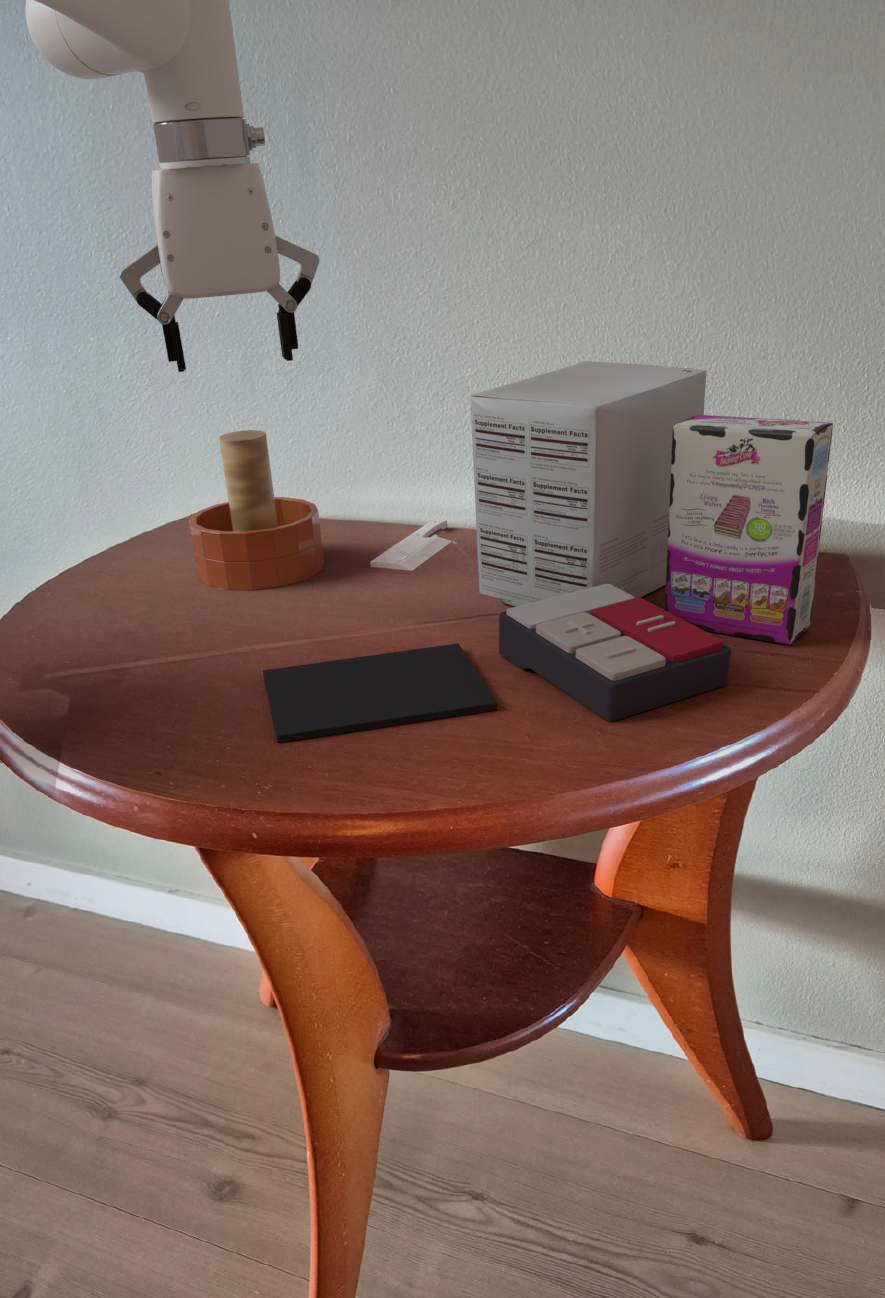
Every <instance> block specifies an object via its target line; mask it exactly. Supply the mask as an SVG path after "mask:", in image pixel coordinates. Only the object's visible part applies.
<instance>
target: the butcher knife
mask: <svg viewBox="0 0 885 1298" xmlns="http://www.w3.org/2000/svg"><path fill="white" fill-rule="evenodd" d="M447 528H448V520H447V519H441V518H440V519H439V518H433V519H432V520H430V521H429V522H427V523H426V524H424V525H423V526H421V527H420V528H418V529H417V530H415V531H414V532H412V533H411V534H409V535H408V536H406V537H405V538H403V539H402V540H400V541H398V542H397V543H395V544H394V545H392V546H391V547H389V548H388V549H386V550H385V551H383V552H382V553H381V554H380V555H378V556H376V557H375V558H373V559H372V560H370V562H369V565H370V567H371V568H380V569H388V570H389V569H390V570H400V571H402V570H403V571H411V572H413V571H414V570H416V568H418V567H419V566H421V565H422V564H423V563H425V562H426V561H428V559H430V558H432V557H433V556H434V555H436V554H437V553H438V552H440V551H441V550H442V549H444V548H445V547H446V546H448V545H449V544H451V543H453V544H454V545H457V544H458V542H457V541H454V540H451V539H447V538H444V537H439V535H438V534H434V533H435V532H437V531H438V530H439V531H440V529H441V530H442V531H444V530H445V529H447ZM432 534H433V535H432ZM431 535H432V536H431Z"/></svg>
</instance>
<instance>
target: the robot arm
mask: <svg viewBox="0 0 885 1298" xmlns="http://www.w3.org/2000/svg"><path fill="white" fill-rule="evenodd" d="M24 9H25V10H24V13H25V22H26V27H27V30H28V33H29V35H30V38H31V41H32V42H33V45H34V46H35V48H36V49H37V50H38V52H39V54H40V55H41V56H42V57H43V59H44V60H46V61H47V62H48V64H50V65H52V67H54V68H55V69H57V70H58V71H60V72H62V73H63V74H66V75H68V76H71V77H73V78H77V79H83V80H98V79H100V80H101V79H105V78H110V77H111V78H112V77H115V76H119V75H124V74H128V73H129V74H130V73H137V72H138V73H141V74H143V75H144V82H145V86H146V92H147V99H148V104H149V110H150V115H151V121H152V124H153V125H152V127H153V132H154V134H153V135H154V139H155V146H156V150H157V157H158V163H159V169H157V170H155V169H154V170H151V195H152V196H151V197H152V199H151V202H152V211H153V220H154V227H155V228H154V229H155V237H156V245H155V246H153V247H152V248H151V249H149V250H148V251H147V252H145V253H143V255H141V256H140V257H138V258H137V259H136V260H134V261H133V262H131V263H130V264H128V265H127V266H126V267H125V268H123V269H122V270H121V271H120V274H119V278H120V280H121V282H122V283H123V285H124V286H125V287H126V290H128V292H129V294H130V295H131V296H132V298H133V299H134V300H135V302H136V303H137V305H138V306H140V308H142V309H143V310H144V311H145V312H146V313H148V314H149V315H151V316H152V317H153V318H154V319H155V320H157V321H158V322H159V324H160V325H161V326H162V332H163V337H164V343H165V348H166V349H165V350H166V355H167V361H168V362H169V363H170V362H176V366H177V371H178V373H183V372H185V371H187V366H186V360H185V355H184V348H183V344H182V337H181V331H180V325H179V321H176V313H177V311H178V310H179V307H180V306H181V304H182V302H183V301H184V299H185V300H187V299H189V300H191V299H201V298H214V297H226V296H235V295H247V294H257V293H263V292H267V293H268V294H269V295H270V296H271V297H272V298H273V299H274V300H275V301H276V302H277V303H278V304H277V307H278V311H277V312H276V320H277V328H278V335H279V336H278V337H279V342H280V343H279V345H280V350H281V351H280V352H281V356H282V358H283V359H284V360H285V361H287V362H292V361H294V357H293V350H298V349H299V340H298V332H297V324H296V316H295V312H296V311H297V310H298V307H299V305H300V304H301V302H302V301H303V300H304V299H305V298H306V296H307V295H308V293H309V292H310V291H311V288H312V284H313V281H314V279H315V275H316V274H317V270H318V267H319V264H320V257H319V255H317V254H316V253H314V252H313V251H309V250H308V249H306V248H304V247H301V246H299V245H297V244H294V243H292V242H290V241H288V240H286V239H284V238H282V237H280V236H277V235H276V233H275V228H274V222H273V217H272V212H271V206H270V203H269V199H268V194H267V190H266V185H265V180H264V178H263V174H262V171H261V167H260V165H259V163H258V162H252V163H251V157H250V156H251V151H253V149H257V147H261V146H263V147H264V146H266V137H265V130H264V127H263V126H261V127H260V126H259V127H255V125H250V123H247V121H246V120H247V119H246V118H245V113H244V106H243V98H242V97H243V96H242V90H241V83H240V76H239V75H240V73H239V66H238V59H237V52H236V44H235V36H234V28H233V20H232V14H231V5H230V0H25V8H24ZM279 255H281V256H283V257H286V258H287V259H290V260H292V261H295V262H297V263H298V264H299V266H300V268H299V272H298V274H297V275H298V276H297V278H296V279H295V281H294V282H293V284H292V285H291V286H290V288H289V289H288V290H286V289H285V287H283V286H282V285H281V284H280V281H281V268H280V267H281V265H280V257H279ZM159 265H160V270H161V276H162V279H163V283H164V286H165V288H166V290H167V293H166V295H165V297H164V299H163V300H162V302H160V301H159V300H157V298H155V297H154V296H153V295H152V294H150V293H149V292H148V291H147V289H146V288H145V286H144V284H142V279H141V278H142V277H143V276H145V275H146V274H147V273H149V272H150V271H151V270H153V269H155V268H156V267H157V266H159Z"/></svg>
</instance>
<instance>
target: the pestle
mask: <svg viewBox="0 0 885 1298" xmlns="http://www.w3.org/2000/svg"><path fill="white" fill-rule="evenodd" d="M267 439H268V438H267V433H266V431H262V430H256V429H249V430H248V429H247V430H237V431H236V430H235V431H231V432H227V433H223V434H222V435H220V436H219V437H218V441H219V447H220V453H221V460H222V468H223V474H224V480H225V487H226V494H227V499H228V500H227V502H229V507H230V514H231V520H232V527H233V531H252V530H261V529H269V528H274V527H278V522H277V514H276V506H275V499H274V497H275V491H274V486H273V485H274V484H273V476H272V469H271V461H270V453H269V445H268V440H267Z"/></svg>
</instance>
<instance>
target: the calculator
mask: <svg viewBox="0 0 885 1298" xmlns="http://www.w3.org/2000/svg"><path fill="white" fill-rule="evenodd" d="M498 653H499V655H500V656H501V657H503V658H504V659H506V660H507V661H508V662H510V663H511V664H513V665H515V666H516V667H517V668H519V669H520V670H522V671H525V670H528V669H530V670H532V671H534V673H536V674H538V675H539V676H540V677H542V678H544V679H545V680H547V681H548V682H549V683H551V684H553V685H554V686H555V687H557V688H558V689H559V690H561V691H563V692H564V693H566V694H567V695H569V696H570V697H571V698H573V699H575V700H576V701H578V702H579V703H581V704H582V705H583V706H585V707H586V708H588V709H589V710H590V711H592V712H593V713H595V714H597V715H598V716H599V717H601V718H602V719H604V720H605V721H607V722H615V721H616V722H617V721H619V720H622V719H625V718H629V717H632V716H635V715H638V714H640V713H644V712H648V711H650V710H653V709H656V708H659V707H662V706H666V705H668V704H672V703H675V702H679V701H682V700H685V699H688V698H691V697H695V696H698V695H701V694H704V693H707V692H709V691H713V690H715V689H720V688H723V687H724V686H726V685H727V684H728V678H729V671H730V663H731V655H732V649H731V648H730V647H729V646H727V645H725V644H724V641H723V640H722V639H721V638H719V637H717V636H715V635H713V634H711V633H709V632H708V631H705V630H702V629H700V628H698V627H696V626H694V625H692V624H690V623H688V622H686V621H684V620H682V619H681V618H679V617H677V616H675V615H673V614H671V613H669V612H667V611H665V610H664V609H663V608H662V607H660V606H658V605H655V604H654V603H651V602H650V601H648V600H646V599H645V598H643V597H641V598H635V597H634V596H632V595H630V594H628V593H626V592H624V591H623V590H621V589H619V588H617V587H615V586H613V585H611V584H603V585H599V586H595V587H591V588H587V589H583V590H579V591H575V592H572V593H568V594H564V595H560V596H556V597H552V598H548V599H544V600H540V601H536V602H532V603H529V604H525V605H521V606H517V607H516V606H512V607H510V608H507V609H506V610H504V611H501V612H500V613H498Z"/></svg>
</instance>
